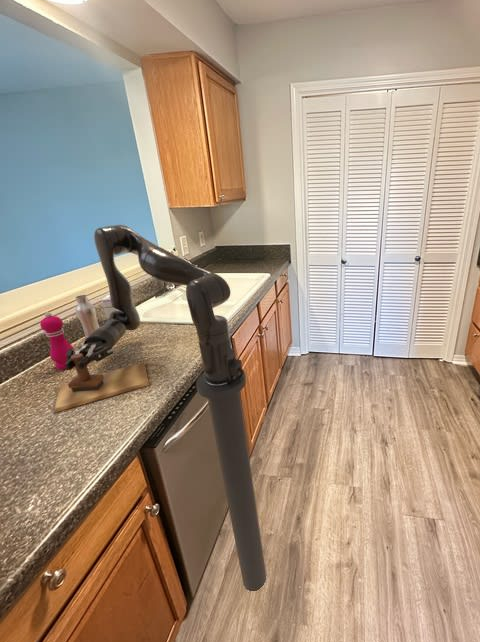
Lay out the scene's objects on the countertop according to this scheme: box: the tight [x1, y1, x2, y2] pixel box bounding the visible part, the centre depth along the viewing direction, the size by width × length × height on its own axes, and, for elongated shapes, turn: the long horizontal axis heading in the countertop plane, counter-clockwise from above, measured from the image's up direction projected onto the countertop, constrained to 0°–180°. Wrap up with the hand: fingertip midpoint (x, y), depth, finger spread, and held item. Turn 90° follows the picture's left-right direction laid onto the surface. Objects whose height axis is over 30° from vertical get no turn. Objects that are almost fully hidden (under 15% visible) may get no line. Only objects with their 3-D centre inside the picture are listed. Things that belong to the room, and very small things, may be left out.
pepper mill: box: [39, 311, 76, 371], centre depth 110 cm, size 7×7×20 cm
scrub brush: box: [67, 353, 104, 392], centre depth 96 cm, size 8×4×11 cm, turn 94°
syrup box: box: [101, 294, 120, 320], centre depth 141 cm, size 6×6×14 cm
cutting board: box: [54, 362, 150, 413], centre depth 100 cm, size 24×14×1 cm, turn 119°
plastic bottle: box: [75, 294, 101, 340], centre depth 125 cm, size 6×7×20 cm
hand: (73, 366), depth 92 cm, fingers closed on scrub brush, 3 cm apart
